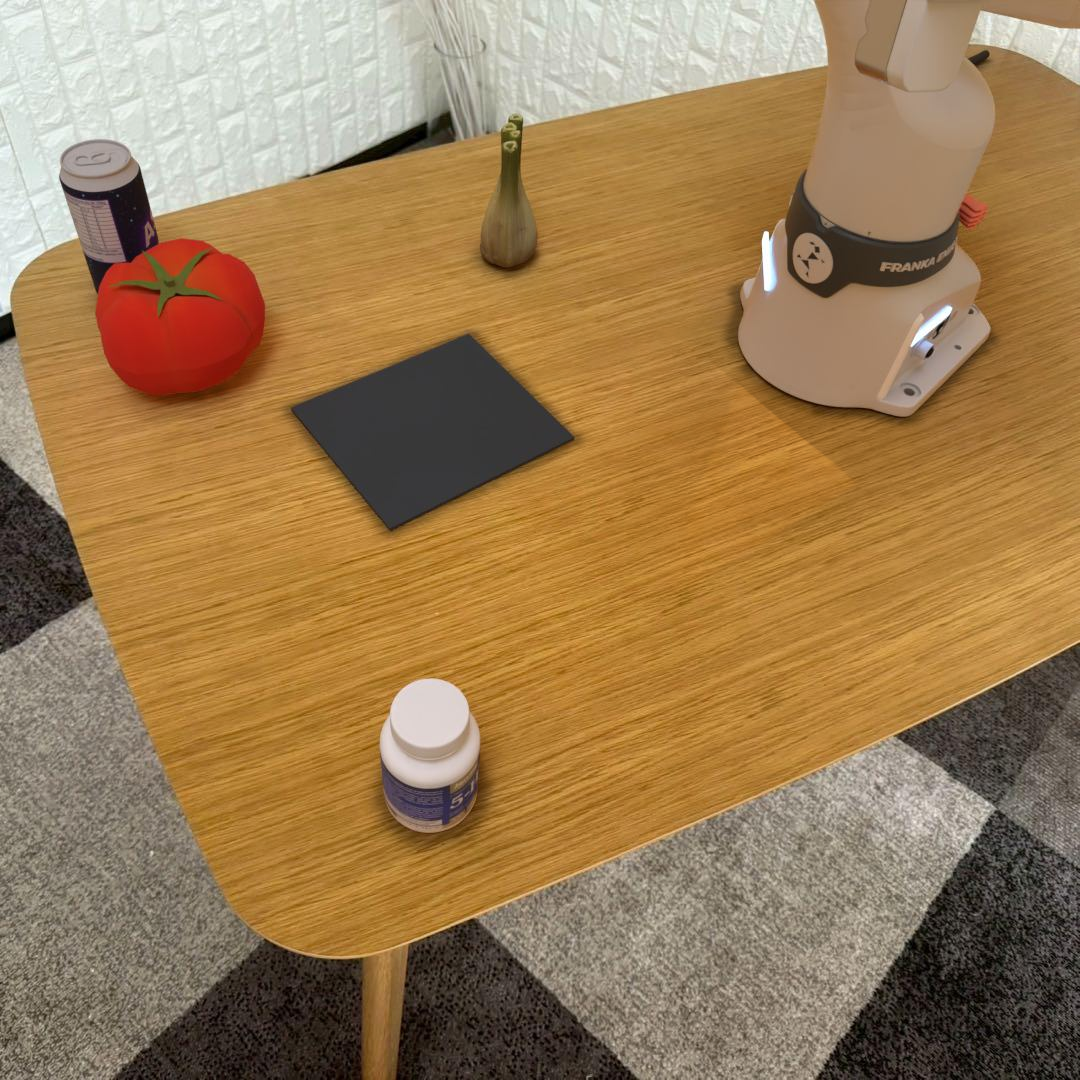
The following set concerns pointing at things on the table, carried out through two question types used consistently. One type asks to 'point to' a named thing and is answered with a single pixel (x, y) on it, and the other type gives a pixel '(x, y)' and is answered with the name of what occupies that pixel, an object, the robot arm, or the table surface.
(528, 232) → the fennel bulb
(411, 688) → the pill bottle
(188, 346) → the tomato
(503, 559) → the table surface
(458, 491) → the mat
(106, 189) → the beverage can
